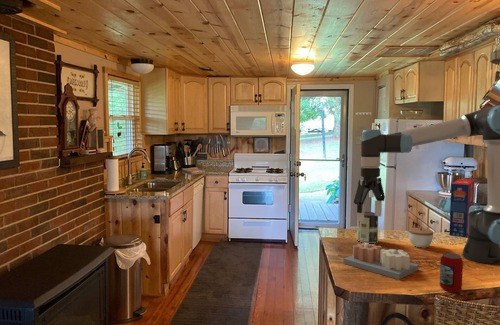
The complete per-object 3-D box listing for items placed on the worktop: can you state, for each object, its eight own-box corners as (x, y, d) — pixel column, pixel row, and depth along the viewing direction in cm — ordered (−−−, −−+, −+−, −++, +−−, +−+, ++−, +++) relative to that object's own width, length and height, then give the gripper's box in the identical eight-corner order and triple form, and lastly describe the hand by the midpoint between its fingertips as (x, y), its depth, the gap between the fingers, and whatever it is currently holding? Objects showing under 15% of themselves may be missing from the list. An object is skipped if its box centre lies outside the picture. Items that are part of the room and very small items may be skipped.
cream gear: (402, 261, 153) (402, 249, 152) (411, 269, 143) (411, 256, 143) (378, 261, 153) (378, 249, 153) (385, 269, 144) (385, 256, 143)
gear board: (418, 269, 149) (419, 249, 149) (398, 279, 139) (399, 258, 138) (364, 255, 167) (364, 237, 167) (343, 263, 157) (343, 244, 156)
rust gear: (383, 258, 157) (383, 246, 157) (371, 263, 150) (371, 251, 150) (363, 253, 164) (363, 241, 164) (350, 257, 158) (350, 245, 157)
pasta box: (466, 237, 198) (468, 184, 196) (449, 235, 202) (451, 183, 201) (472, 227, 220) (474, 180, 218) (457, 225, 225) (458, 179, 223)
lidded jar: (422, 242, 188) (423, 224, 187) (437, 248, 178) (438, 229, 177) (403, 244, 186) (404, 225, 185) (418, 250, 175) (418, 230, 175)
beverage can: (435, 285, 133) (436, 252, 132) (453, 285, 134) (455, 251, 133) (447, 293, 126) (448, 258, 126) (466, 292, 127) (467, 258, 126)
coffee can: (376, 238, 195) (377, 211, 194) (379, 244, 185) (379, 215, 184) (355, 237, 197) (356, 211, 196) (357, 243, 187) (357, 215, 186)
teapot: (447, 209, 278) (447, 194, 277) (469, 212, 266) (469, 197, 265) (437, 211, 268) (437, 196, 268) (459, 215, 257) (460, 199, 256)
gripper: (377, 165, 166) (376, 212, 168) (345, 168, 150) (344, 221, 151) (393, 166, 161) (392, 215, 162) (362, 169, 144) (361, 224, 145)
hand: (369, 218), depth 156 cm, fingers open, 13 cm apart
